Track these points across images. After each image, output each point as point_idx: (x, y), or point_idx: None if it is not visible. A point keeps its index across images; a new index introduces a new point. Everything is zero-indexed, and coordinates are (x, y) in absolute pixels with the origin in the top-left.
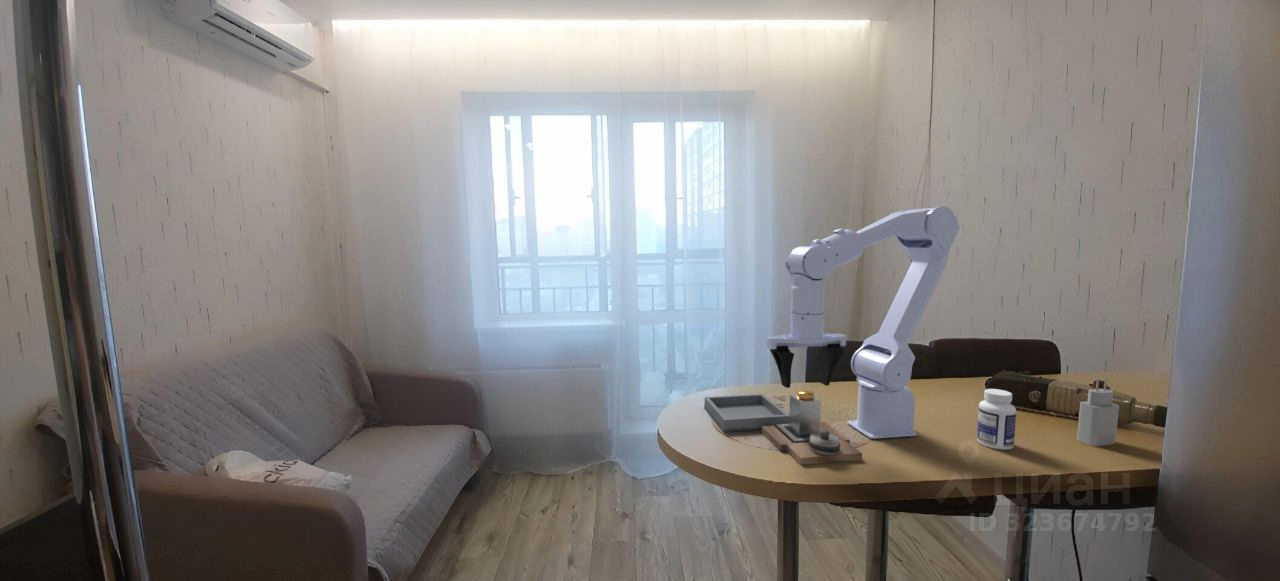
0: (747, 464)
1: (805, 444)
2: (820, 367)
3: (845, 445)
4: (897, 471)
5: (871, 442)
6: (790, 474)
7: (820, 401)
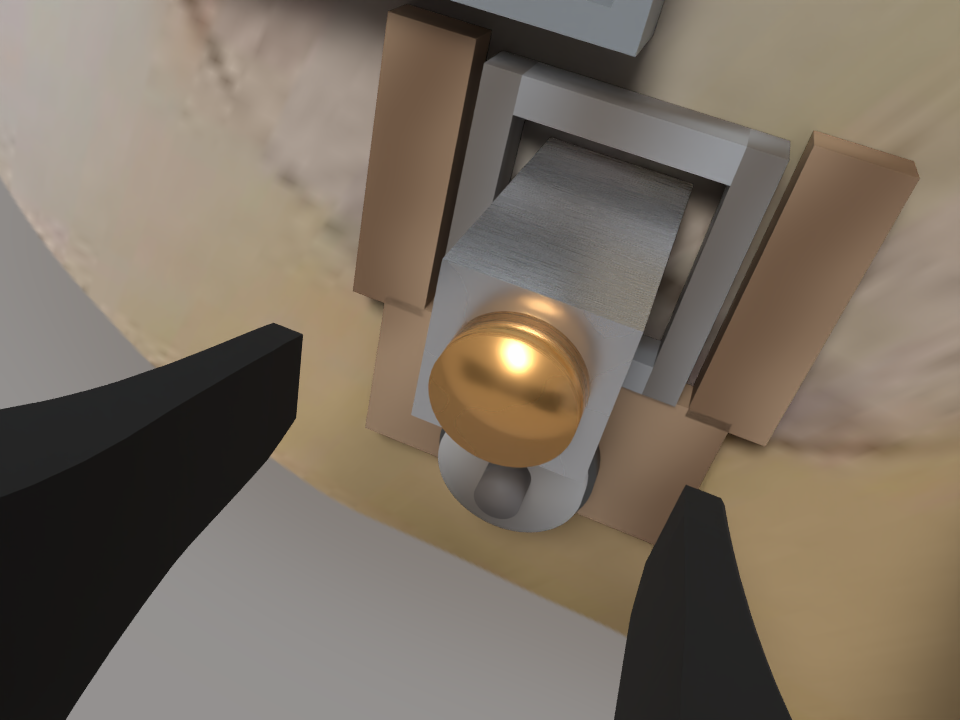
0: (175, 291)
1: None
2: (682, 605)
3: (668, 470)
4: None
5: (949, 462)
6: (300, 430)
7: (581, 478)
